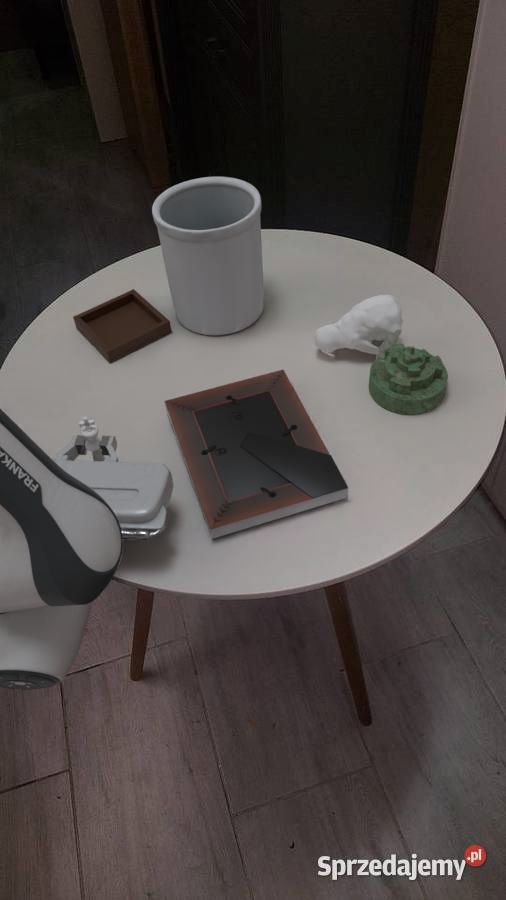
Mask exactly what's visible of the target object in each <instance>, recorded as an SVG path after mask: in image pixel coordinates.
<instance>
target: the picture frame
mask: <svg viewBox="0 0 506 900" xmlns="http://www.w3.org/2000/svg"><path fill="white" fill-rule="evenodd" d="M164 405H165V406H164V407H165V410H166V413H167V415H168V418H169V421H170V422H169V423H170V424H171V427H172V430H173V433H174V435H175V439H176V441H177V444H178V447H179V450H180V453H181V455H182V458H183V461H184V463H185V467H186V469H187V472H188V475H189V478H190V480H191V483H192V486H193V489H194V492H195V495H196V497H197V500H198V503H199V506H200V509H201V512H202V514H203V517H204V520H205V523H206V526H207V528H208V531H209V534H210V537H211V539H213V540H214V539H216V538H219V537H223V536H227V535H229V534H233V533H237V532H239V531H242V530H246V529H249V528H252V527H256V526H259V525H262V524H265V523H269V522H272V521H275V520H279V519H282V518H285V517H289V516H292V515H295V514H299V513H302V512H304V511H309V510H311V509H314V508H319V507H321V506H324V505H327V504H330V503H334V502H337V501H340V500H344V499H347V498H348V494H349V486H348V484H347V482H346V480H345V479H344V476H343V475H342V472H341V471H340V469H339V467H338V465H337V464H336V462H335V460H334V458H333V456H332V455H331V454H330V452H329V450H328V448H327V447H326V444H325V442H324V441H323V439H322V437H321V436H320V433H319V432H318V430H317V428H316V426H315V424H314V423H313V421H312V419H311V417H310V416H309V413H308V412H307V410H306V407H304V404H303V403H302V401H301V399H300V397H299V395H298V394H297V391H296V390H295V388H294V386H293V384H292V382H291V380H290V379H289V377H288V375H287V373H286V371H285V370H284V369H279V370H276V371H272V372H268V373H264V374H260V375H257V376H256V375H255V376H253V377H250V378H249V377H248V378H246V379H242V380H238V381H234V382H230V383H227V384H223V385H219V386H215V387H212V388H208V389H204V390H200V391H197V392H193V393H190V394H186V395H182V396H178V397H175V398H171V399H166V400H164Z"/></svg>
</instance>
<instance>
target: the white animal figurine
mask: <svg viewBox="0 0 506 900" xmlns="http://www.w3.org/2000/svg"><path fill="white" fill-rule="evenodd" d="M402 314H403V313H402V309H401V306H400V303H399V301H398V299H397V298H396V297H395V296H394V295H392V294H378V295H374V296H371V297H367V298H366V299H364V300H363V301H360V302H358V303H357V304H355V305H354V306H352V308H351V309H350V310H349V311H348V312H347V313H344V314H343V315H342V316H341V318H339V319H337V321H336V322H335V323H334V322H333V323H329V324H325V325H323V326H320V327H319V328H318V329H316V331H315V332H314V336H313V337H314V338H313V341H314V345H315V347H316V348H317V349H319V350H320V351H321V352H322V353H323V354H325V355H328V356H329V357H330V358H332V359H334V357H335V354H336V353H335V350H339V349H344V348H345V349H348V350H357V351H359V352H362V353H366V354H371V355H375V359H376V358H377V357H379V356H380V355H382V354H383V353H385V350H386V349H387V348H389V347H391V346H393V345H397V343H398V341H399V337H400V335H401V333H402V332H403V329H402V327H403V316H402ZM374 341H375V342H376V341H377V342H382V344H381V345H380V346H379V347H378V346H376V344H373V342H374Z"/></svg>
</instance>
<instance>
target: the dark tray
mask: <svg viewBox="0 0 506 900" xmlns="http://www.w3.org/2000/svg"><path fill="white" fill-rule="evenodd" d="M72 319H73V321H74V325H75V328H76V330H77V331H79V332H80V333H81V335H83V337H84V338H85V339H86V340H87V341H88V342H89V343H90V344H91V345H92V346H93V348H95V349H96V350H97V351H98V353H100V355H101V356H103V357H104V358H105V360H106V361H108V363H109V364H112V363H113V362H115V361H117V360H120V359H122V358H123V357H125V356H127V355H130V354H132V353H134V352H136V351H138V350H140V349H142V348H144V347H146V346H148V345H150V344H152V343H154V342H156V341H157V340H160V339H161V338H164V337H166V336H168V335H170V334H172V333H173V331H172V324H171V321H170V320H169V319H168V318H167V317H166V316H165V315H164V314H162V313H161V312H160V310H158V309H157V308H155V306H154V305H152V304H151V303H150V302H149V301H148V300H146V299H145V298H144V296H142V295H141V294H140V293H139V292H138V291H136V290H135V289H134V288H132V289H130V290H128V291H126V292H124V293H122V294H120V295H117V296H115V297H113V298H111V299H109V300H107V301H105V302H102V303H100V304H98V305H96V306H94V307H91V308H89V309H87V310H84V311H83V312H80V313H78V314H76V315H75V316H73V317H72Z"/></svg>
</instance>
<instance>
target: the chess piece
mask: <svg viewBox="0 0 506 900" xmlns="http://www.w3.org/2000/svg"><path fill="white" fill-rule="evenodd" d="M95 423H96V422H95V419H89V418H88V415H87V416H86V415H85V416H82V420H80V421H78V426H79V428H81V429H80V435H82V436H83V437H84V438H85V439H86V440H87V441H86V442H85V448H86V449H87V451H89V452H91V455H92V460H91V461H104V459H105V457H106V455H102V452H101V451H102V450H101V449H100V446H99V445H100V441H101V440H102V439H101V438H102V437H100V436H98V435H99V426H97V424H95ZM119 462H121V461H120V460H119Z"/></svg>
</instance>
